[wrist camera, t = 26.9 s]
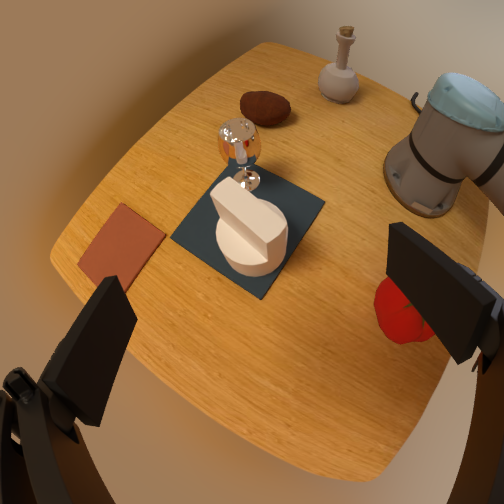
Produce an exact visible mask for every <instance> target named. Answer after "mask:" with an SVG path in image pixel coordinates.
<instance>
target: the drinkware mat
mask: <svg viewBox="0 0 504 504" xmlns="http://www.w3.org/2000/svg"><path fill="white" fill-rule="evenodd" d="M246 169H250V170H253V171H255V172H256V173H258V175H259V177H260V184H259V185H258V187H257V188H256V189H254V190H253V191H250V193H251V194H252V195H254V196H255V197H256V198H257V199H262V200H265V201H268V202H270V203H272V204H273V205H275V206H277V208H278V209H279V210H280V211H281V212H282V213H283V215H284V217H285V219H286V221H287V226H288V237H287V246H286V254H285V256H284V259H283V261H282V262H281V264H280V265H279V266H278V267H277V268H276V269H275V270H274V271H272V272H271V273H269V274H266V275H264V276H258V277H251V276H246V275H243V274H240V273H238V272H237V271H236V270H234V269H233V268H232V267H231V265H230V264H229V263H228V261H227V260H226V258H225V256H224V255H223V253H222V251H221V249H220V247H219V245H218V242H217V239H216V228H217V223H218V221H219V219H220V216H219V214H218V212H217V210H216V207H215V205H214V203H213V200H212V198H211V196H210V193H211V191H212V190H213V189H214V188H215V186H216V185H217V184H218V183H220V182H221V181H223V180H224V179H226V178H227V177H231V178H232V179H233V177H234V176H235V174H236V173H237V172H239V171H241V170H243V169H242V168H235V167H231V166H229V165H228V166H227V167H226V168H225V170H224V171H223V172H222V173H221V174H220V175H219V177H218V178H217V179H216V180H215V181H214V183H213V184H212V185H211V186H210V187H209V189H208V190H207V191H206V192H205V193H204V195H203V196H202V197H201V198H200V200H199V201H198V202H197V203H196V204H195V206H194V207H193V208H192V209H191V211H190V212H189V213H188V214H187V216H186V217H185V218H184V220H183V221H182V222H181V223H180V225H179V226H178V227H177V229H176V230H175V231H174V233H173V234H172V235H171V236H170V238H171V239H172V240H174V241H175V242H176V243H178V244H179V245H181V246H182V247H184V248H185V249H186V250H188V251H189V252H191V253H192V254H194V255H195V256H196V257H198V258H199V259H201V260H202V261H204V262H205V263H207V264H208V265H209V266H211V267H212V268H214V269H215V270H217V271H218V272H220V273H221V274H223V275H224V276H226V277H227V278H229V279H230V280H232V281H233V282H235V283H236V284H237V285H239V286H240V287H242V288H243V289H245V290H246V291H248V292H250V293H251V294H253V295H254V296H256V297H257V298H259V299H260V300H261V299H262V298H263V296H264V295H265V293H266V292H267V290H268V289H269V288H270V286H271V285H272V283H273V282H274V280H275V279H276V277H277V276H278V274H279V273H280V271H281V270H282V268H283V267H284V265H285V264H286V262H287V261H288V259H289V257H290V256H291V254H292V253H293V251H294V250H295V248H296V247H297V245H298V244H299V242H300V241H301V239H302V238H303V236H304V234H305V233H306V231H307V230H308V228H309V227H310V225H311V223H312V222H313V220H314V219H315V217H316V216H317V214H318V212H319V211H320V209H321V208H322V206H323V204H324V203H325V201H323V200H322V199H320V198H318V197H316V196H315V195H313V194H311V193H309V192H307V191H305V190H304V189H302V188H300V187H298V186H296V185H294V184H292V183H291V182H289V181H287V180H285V179H283V178H281V177H279V176H277V175H275V174H273V173H271V172H269V171H267V170H265V169H263V168H261V167H259V166H257V165H255V164H252V165H251V166H248V167H246Z"/></svg>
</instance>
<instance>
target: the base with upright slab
mask: <svg viewBox="0 0 504 504" xmlns="http://www.w3.org/2000/svg"><path fill="white" fill-rule="evenodd" d="M210 196H211V198H212V200H213V203H214V205H215V207H216V210H217V212H218V214H219V216H220V219H219V221H218V223H217V228H216V239H217V242H218V245H219V247H220V249H221V251H222V253H223V255H224V256H225V258H226V260H227V261H228V263H229V264H230V265H231V267H232V268H233V269H234V270H236V271H237V272H238V273H240V274H243V275H246V276H251V277H258V276H264V275H266V274H269V273H271V272H272V271H274V270H275V269H276V268H277V267H278V266H279V265H280V264H281V262H282V261H283V259H284V256H285V254H286V246H287V237H288V226H287V221H286V219H285V217H284V215H283V213H282V212H281V211H280V210H279V209H278V208H277V206H275V205H273V204H272V203H270V202H268V201H265V200H262V199H257V198H256V197H255V196H254V195H252V194H251V193H250V192H249V191H247V190H246V189H245V188H244V187H242V186H241V185H240V184H239V183H237V182H236V181H235V180H234V179H232V178H231V177H227V178H226V179H224V180H223V181H221V182H220V183H218V184H217V185H216V186H215V188H214V189H213V190H212V191H211V193H210Z"/></svg>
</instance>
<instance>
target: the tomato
mask: <svg viewBox="0 0 504 504" xmlns="http://www.w3.org/2000/svg"><path fill="white" fill-rule="evenodd" d="M374 307H375V311H376V315H377V319H378V323H379V326H380V328H381V329H382V331H383V332H384V334H385V335H386V337H387V338H389V339H390V340H392V341H393V342H395V343H397V344H405V343H409V342H423V341H426V340H428V339H430V338H431V337H432V336H433V335H435V333H434V331H433V330H432V329H431V328H430V326H429V325H428V324H427V322H426V321H425V320H424V319H423V317H422V316H421V315H420V314H419V312H418V311H417V310H416V309H415V307H414V306H413V305H412V304H411V302H410V301H409V300H408V299H407V298H406V296H405V295H404V294H403V293H402V292H401V290H400V289H399V288H398V287H397V286H396V285H395V283H394V282H393V281H392V280H391V279H390V278H389V277H387V278H386V279H385V280H383V281H382V282H381V283H380V285H379V287H378V289H377V290H376V294H375V300H374Z"/></svg>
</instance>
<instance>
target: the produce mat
mask: <svg viewBox="0 0 504 504" xmlns="http://www.w3.org/2000/svg"><path fill="white" fill-rule="evenodd" d="M165 236H166V235H165V234H164V233H163V232H161V231H160V230H159V229H157V228H156V227H154V226H153V225H152V224H150V223H149V222H148V221H146V220H145V219H143V218H142V217H141V216H139V215H138V214H137V213H135V212H134V211H132V210H131V209H130V208H128V207H127V206H126V205H124V204H123V203H122V202H121V203H120V204H119V206H118V207H117V208H116V209H115V211H114V212H113V213H112V215H111V216H110V217H109V219H108V220H107V221H106V223H105V224H104V225H103V227H102V228H101V229H100V231H99V232H98V234H97V235H96V237H95V238H94V239H93V241H92V242H91V244H90V245H89V247H88V248H87V250H86V251H85V253H84V254H83V256H82V257H81V259H80V260H79V262H78V263H77V265H78V266H79V267H80V268H81V270H82V271H83V272H84V273H85V274H86V275H87V276H88V277H89V278H90V280H91V281H92V282H93V283H94V284H95V285H96V286H97V287H98V286H99V284H100V283H101V282H102V280H103V279H104V277H109V276H114V275H117V276H118V279H119V281H120V283H121V285H122V288H123V290H124V292H126V291H127V289H128V288H129V286H130V285H131V283H132V282H133V281H134V279H135V278H136V276H137V275H138V273H139V272H140V270H141V269H142V268H143V266H144V265H145V263H146V262H147V261H148V259H149V258H150V256H151V255H152V254H153V252H154V251H155V250H156V248H157V247H158V246H159V244H160V243H161V242H162V240H163V239H164V238H165Z"/></svg>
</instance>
